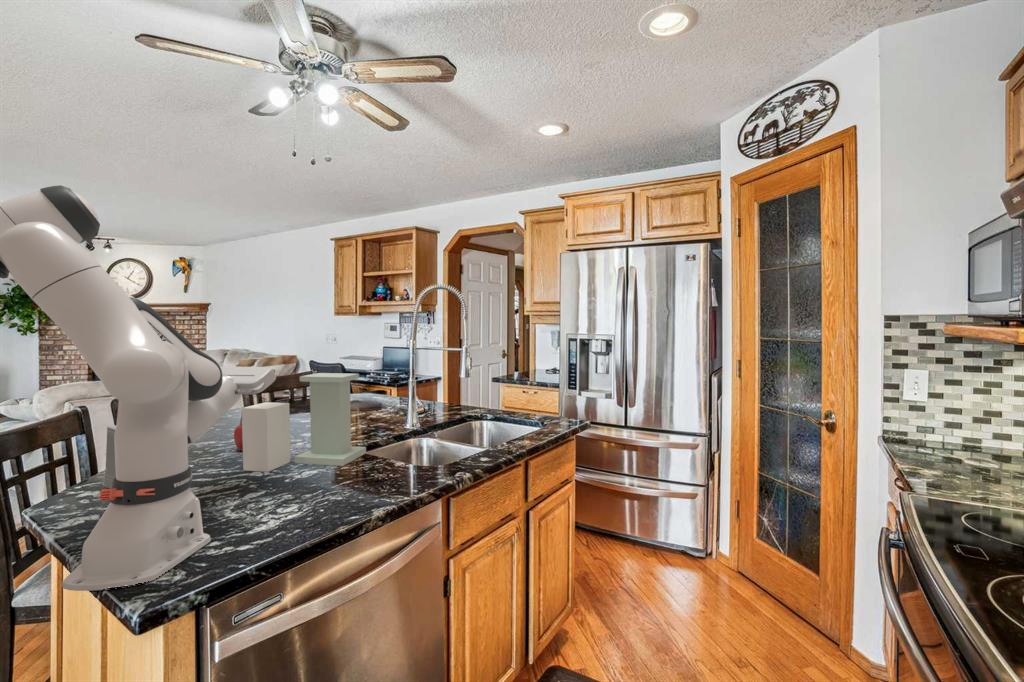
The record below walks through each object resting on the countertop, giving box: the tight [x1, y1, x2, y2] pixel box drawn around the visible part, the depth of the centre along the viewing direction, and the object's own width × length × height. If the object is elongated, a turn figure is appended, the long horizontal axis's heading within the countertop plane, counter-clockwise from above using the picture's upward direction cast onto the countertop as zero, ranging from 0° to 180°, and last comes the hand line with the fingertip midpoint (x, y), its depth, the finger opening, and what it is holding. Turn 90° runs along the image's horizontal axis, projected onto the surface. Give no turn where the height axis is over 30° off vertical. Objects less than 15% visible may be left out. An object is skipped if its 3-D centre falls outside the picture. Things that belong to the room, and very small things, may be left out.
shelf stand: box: [293, 372, 367, 467], centre depth 150 cm, size 14×16×26 cm
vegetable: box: [233, 424, 243, 451], centre depth 161 cm, size 11×10×10 cm
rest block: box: [241, 401, 292, 473], centre depth 142 cm, size 10×8×18 cm
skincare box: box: [104, 424, 116, 489], centre depth 125 cm, size 8×7×16 cm
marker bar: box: [238, 354, 298, 367], centre depth 138 cm, size 20×4×2 cm, turn 169°
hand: (253, 361), depth 132 cm, fingers closed on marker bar, 2 cm apart
